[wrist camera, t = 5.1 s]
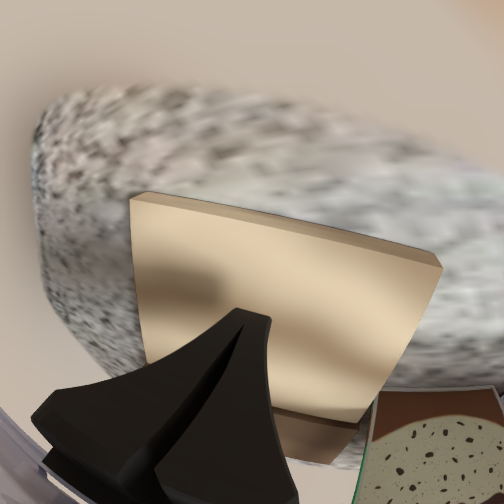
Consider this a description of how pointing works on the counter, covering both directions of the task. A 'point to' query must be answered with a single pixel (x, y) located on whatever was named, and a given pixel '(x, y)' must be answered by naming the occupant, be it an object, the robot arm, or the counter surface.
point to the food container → (433, 447)
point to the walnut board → (311, 435)
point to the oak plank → (281, 295)
